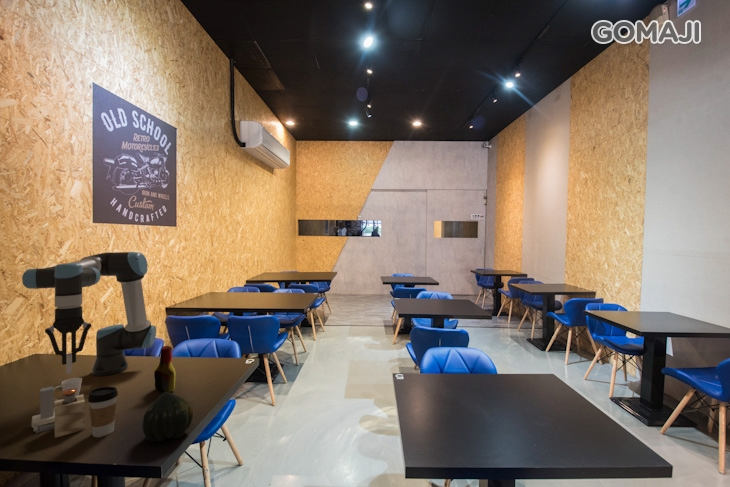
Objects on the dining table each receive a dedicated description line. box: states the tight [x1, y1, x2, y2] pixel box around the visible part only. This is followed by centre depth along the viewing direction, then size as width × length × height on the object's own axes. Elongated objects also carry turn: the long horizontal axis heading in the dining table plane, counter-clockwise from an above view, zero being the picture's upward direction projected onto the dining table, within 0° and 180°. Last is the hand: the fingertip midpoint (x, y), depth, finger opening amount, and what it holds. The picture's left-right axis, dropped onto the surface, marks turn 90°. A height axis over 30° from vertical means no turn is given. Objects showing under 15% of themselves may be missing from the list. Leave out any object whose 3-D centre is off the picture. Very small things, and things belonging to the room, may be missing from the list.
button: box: [61, 388, 77, 404], centre depth 123 cm, size 4×4×7 cm
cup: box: [53, 377, 83, 401], centre depth 146 cm, size 7×10×8 cm
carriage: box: [31, 385, 55, 432], centre depth 126 cm, size 8×7×13 cm
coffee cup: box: [87, 386, 119, 438], centre depth 120 cm, size 8×8×15 cm
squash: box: [142, 392, 194, 443], centre depth 118 cm, size 14×15×15 cm
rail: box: [34, 407, 55, 434], centre depth 129 cm, size 6×19×2 cm, turn 42°
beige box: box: [54, 393, 86, 439], centre depth 123 cm, size 8×8×10 cm
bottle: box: [153, 345, 176, 393], centre depth 155 cm, size 12×6×20 cm, turn 58°
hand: (69, 372), depth 123 cm, fingers closed
